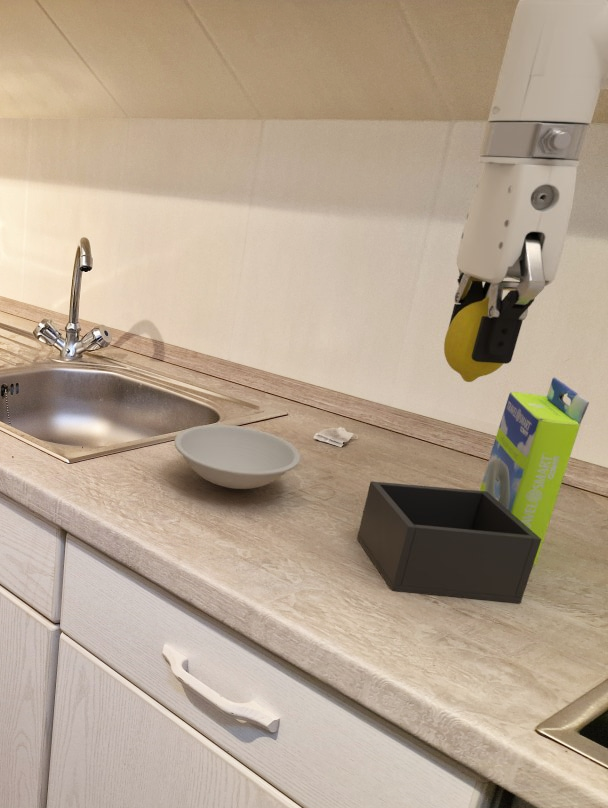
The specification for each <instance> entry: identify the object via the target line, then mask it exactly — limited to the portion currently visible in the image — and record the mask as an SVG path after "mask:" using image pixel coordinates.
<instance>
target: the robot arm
mask: <svg viewBox="0 0 608 808" xmlns="http://www.w3.org/2000/svg"><path fill="white" fill-rule="evenodd" d="M512 18H513V19H512V21H511V26H510V28H509V29H510V30H509V35H508V37H507V40H506V41H507V42H506V46H505V50H504V54H503V58H502V62H501V67H500V69H499V74H498V78H497V83H496V85H495V90H494V93H493V94H494V95H493V98H492V102H491V105H490V109H489V115H488V118H487V123H486V126H485V127H486V128H485V130H484V131H485V132H484V135H483V139H482V144H481V148H480V151H479V155H478V159H477V163H478V164H479V163H481V164H483V166H482V170H481V172H480V175H479V177H478V180H477V183H476V187H475V190H474V192H473V195H472V198H471V202H470V205H469V208H468V211H467V214H466V217H465V222H464V224H463V229H462V232H461V236H460V239H459V240H460V241H459V245H458V250H457V255H456V266H457V268H458V274H459V276H458V278H457V283H458V287H457V290H456V292H455V294H454V298H453V299H454V300H453V301H454V305H453V309H452V311H451V316H450V321H449V324H448V327H449V326H450V324H451V322H452V320H453V319H454V317H455V316H456V315H457V313H458V312H460V311H461V310H462V309H463V308H465V307H466V306H468V305H470V304H472V303H475V302H479V301H482V300H484V299H485V298H488V297H490V298H489V307H488V316H482V319H481V322H480V326H479V330H478V334H477V337H476V341H475V345H474V349H473V352H472V359H473V360H474V361H477V362H489V363H503V365H505V364H507V365H508V364H509V363H511V362H512V360H513V355H514V353H515V349H516V346H517V341H518V338H519V336H520V331H521V328H522V324H523V321H525V320H526V317H527V316H528V312H529V308H530V306H531V305H532V304H533V303H534V301H535V299H536V297H537V296H538V295H539V294H540V293H541V292H542V291H543V290H544V289H545V287H548V286H549V285H551V284H552V283H553V282H554V280H555V278H556V275H557V273H558V268H559V264H560V261H561V257H562V253H563V250H564V245H565V241H566V236H567V233H568V228H569V224H570V220H571V219H570V218H571V214H572V209H573V203H574V198H575V192H576V191H575V190H576V183H577V171H578V170H577V168H579V165H580V162H581V158H582V155H583V152H584V148H585V145H586V141H587V138H588V135H589V132H590V127H591V124H592V120H593V118H594V113H595V110H596V107H597V104H598V100H599V98H600V97H599V96H600V93H601V90H608V0H518V2H517V4H516V8H515V12H514V14H513V17H512ZM507 278H508V279H513V280H514V281H511V280H505V279H507ZM515 280H516V281H515ZM483 283H484V284H483ZM504 291H507V292H508V293H507V294H506V295H505V296H504V297H503V293H504Z"/></svg>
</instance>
